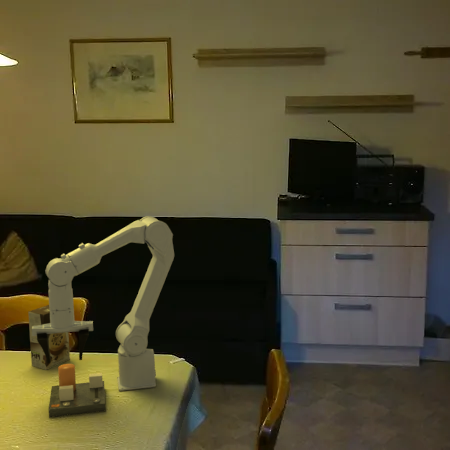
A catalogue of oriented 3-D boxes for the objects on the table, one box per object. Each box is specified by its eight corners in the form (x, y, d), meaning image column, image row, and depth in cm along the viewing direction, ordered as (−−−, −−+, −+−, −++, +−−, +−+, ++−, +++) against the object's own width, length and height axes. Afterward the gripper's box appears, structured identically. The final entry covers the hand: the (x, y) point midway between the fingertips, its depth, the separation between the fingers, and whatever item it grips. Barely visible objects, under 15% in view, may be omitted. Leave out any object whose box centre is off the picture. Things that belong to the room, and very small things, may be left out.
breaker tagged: (73, 396, 148) (73, 385, 148) (73, 399, 147) (72, 388, 146) (60, 398, 148) (59, 386, 147) (59, 401, 146) (59, 389, 145)
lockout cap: (78, 387, 154) (77, 364, 153) (71, 393, 150) (70, 370, 149) (64, 385, 155) (63, 363, 154) (56, 392, 151) (55, 369, 150)
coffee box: (46, 370, 169) (42, 314, 167) (30, 365, 173) (26, 311, 170) (71, 359, 177) (67, 305, 174) (55, 355, 180) (52, 302, 178)
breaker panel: (104, 388, 158) (104, 379, 157) (105, 411, 145) (105, 401, 145) (52, 393, 155) (51, 384, 155) (49, 417, 142) (48, 408, 142)
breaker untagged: (102, 384, 155) (102, 372, 155) (102, 387, 153) (102, 375, 153) (89, 385, 155) (89, 374, 154) (89, 388, 153) (89, 377, 152)
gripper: (91, 300, 155) (94, 351, 158) (32, 305, 152) (35, 356, 154) (92, 308, 148) (94, 361, 151) (29, 313, 145) (33, 367, 148)
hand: (64, 360), depth 152 cm, fingers open, 7 cm apart
